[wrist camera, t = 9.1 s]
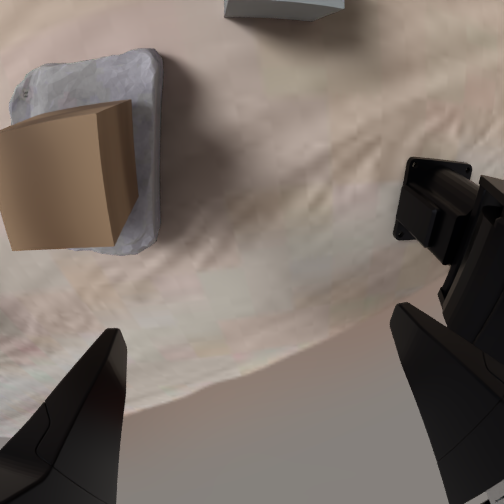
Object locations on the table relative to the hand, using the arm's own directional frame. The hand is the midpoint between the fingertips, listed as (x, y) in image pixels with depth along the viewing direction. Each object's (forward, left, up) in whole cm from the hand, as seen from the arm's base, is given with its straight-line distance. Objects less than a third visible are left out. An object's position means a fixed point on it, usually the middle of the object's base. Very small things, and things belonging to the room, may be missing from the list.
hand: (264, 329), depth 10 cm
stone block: (+9, -3, -13) cm, 16 cm away
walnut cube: (+8, -4, -8) cm, 12 cm away
